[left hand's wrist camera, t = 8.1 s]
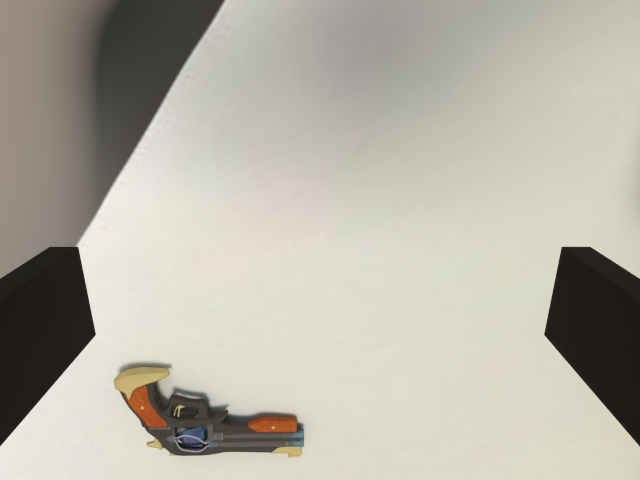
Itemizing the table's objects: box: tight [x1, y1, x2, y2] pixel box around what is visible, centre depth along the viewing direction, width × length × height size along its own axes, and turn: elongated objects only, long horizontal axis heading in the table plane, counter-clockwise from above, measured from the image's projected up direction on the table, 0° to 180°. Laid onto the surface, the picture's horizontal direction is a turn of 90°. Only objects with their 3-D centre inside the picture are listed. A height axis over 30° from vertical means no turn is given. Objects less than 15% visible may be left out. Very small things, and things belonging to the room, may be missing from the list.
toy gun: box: [114, 367, 304, 458], centre depth 46 cm, size 3×19×10 cm
